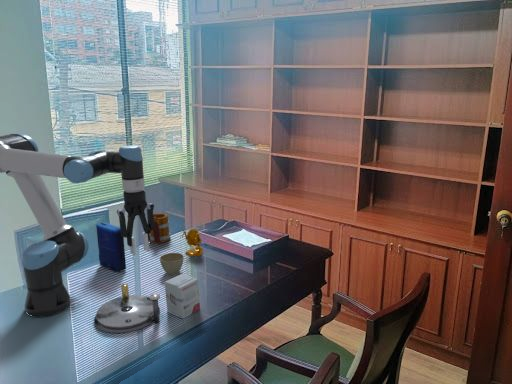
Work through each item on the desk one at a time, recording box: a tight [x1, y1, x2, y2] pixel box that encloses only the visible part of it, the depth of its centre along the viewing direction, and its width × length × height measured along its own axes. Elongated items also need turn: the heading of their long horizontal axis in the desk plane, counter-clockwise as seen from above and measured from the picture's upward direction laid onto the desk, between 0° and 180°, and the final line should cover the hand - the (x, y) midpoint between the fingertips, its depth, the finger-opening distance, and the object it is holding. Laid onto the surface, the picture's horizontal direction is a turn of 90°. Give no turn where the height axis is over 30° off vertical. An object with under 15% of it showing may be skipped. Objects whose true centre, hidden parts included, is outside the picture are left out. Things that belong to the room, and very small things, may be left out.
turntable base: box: [93, 293, 161, 334], centre depth 153 cm, size 22×22×10 cm
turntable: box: [96, 283, 154, 329], centre depth 153 cm, size 20×20×7 cm
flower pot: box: [159, 252, 185, 276], centre depth 187 cm, size 10×10×7 cm
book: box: [95, 221, 127, 273], centre depth 190 cm, size 14×5×20 cm, turn 53°
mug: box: [149, 212, 171, 245], centre depth 222 cm, size 11×16×15 cm, turn 4°
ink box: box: [164, 273, 201, 319], centre depth 155 cm, size 9×9×12 cm
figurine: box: [180, 228, 204, 257], centre depth 206 cm, size 9×11×12 cm
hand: (139, 251), depth 161 cm, fingers open, 4 cm apart
